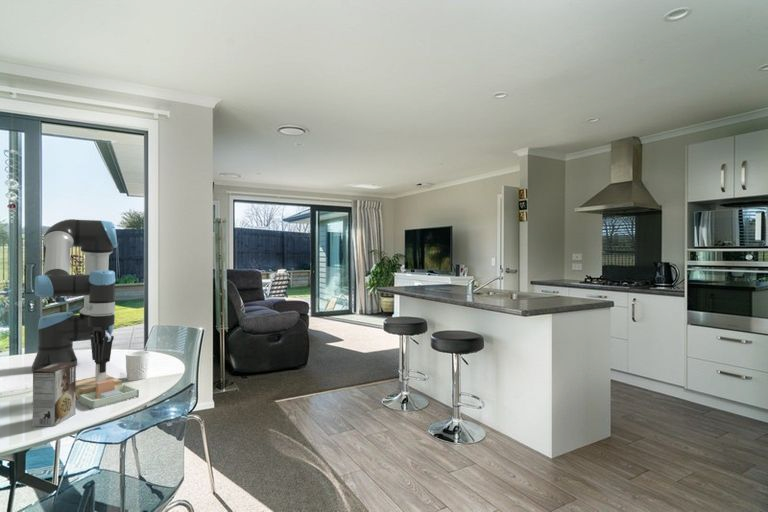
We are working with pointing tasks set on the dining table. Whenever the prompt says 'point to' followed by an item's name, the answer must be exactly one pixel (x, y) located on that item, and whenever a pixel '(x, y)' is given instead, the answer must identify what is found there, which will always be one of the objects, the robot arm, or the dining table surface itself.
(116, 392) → the tile
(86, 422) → the dining table surface
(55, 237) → the robot arm
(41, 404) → the cookie box
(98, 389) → the tile
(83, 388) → the tan square panel
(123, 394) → the tray
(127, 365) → the white cup
